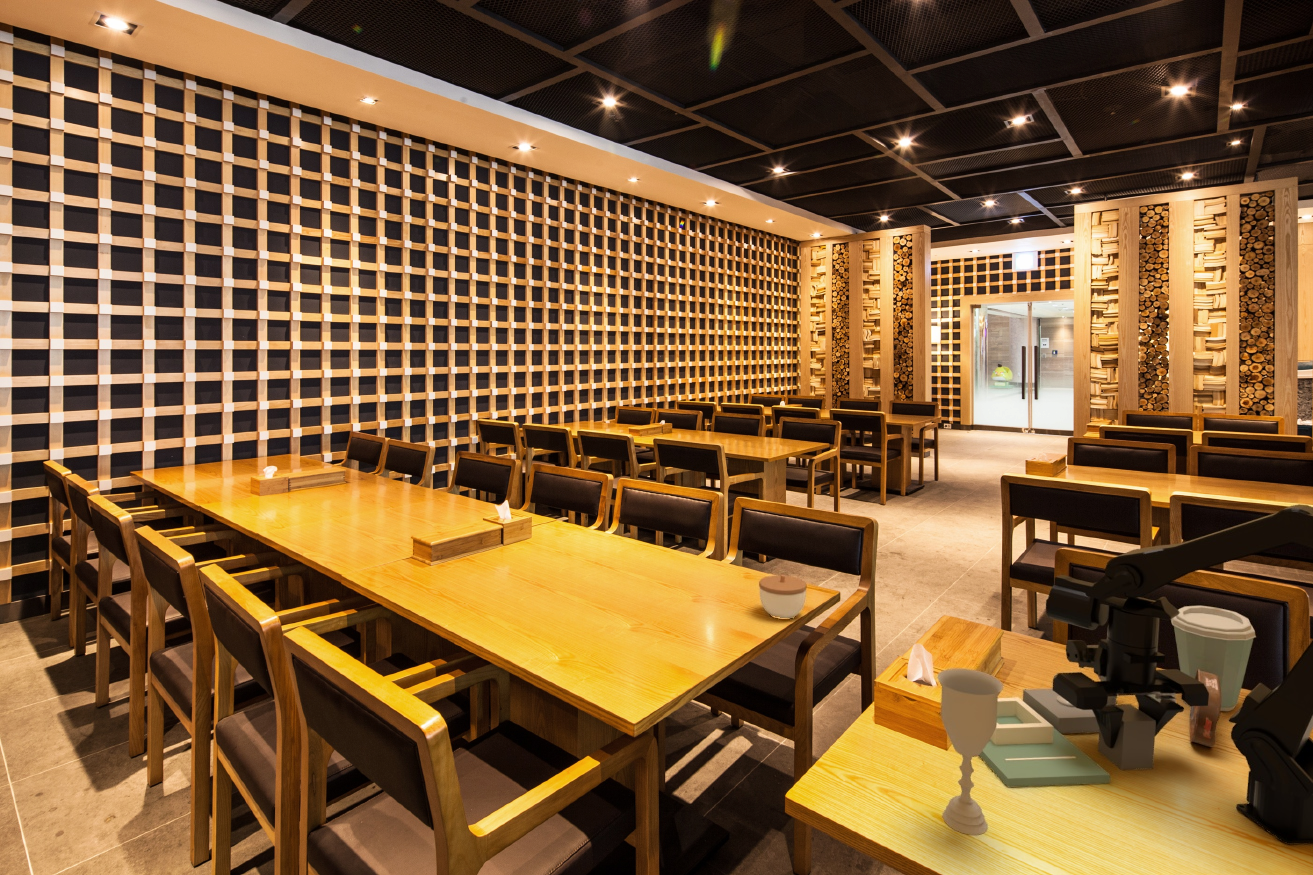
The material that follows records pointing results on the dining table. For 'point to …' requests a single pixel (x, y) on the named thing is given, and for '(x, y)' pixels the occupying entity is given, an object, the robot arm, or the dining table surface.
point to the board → (1035, 751)
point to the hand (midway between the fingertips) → (1125, 745)
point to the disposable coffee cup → (1214, 647)
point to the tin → (1206, 711)
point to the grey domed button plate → (1060, 712)
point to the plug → (1132, 741)
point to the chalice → (968, 736)
